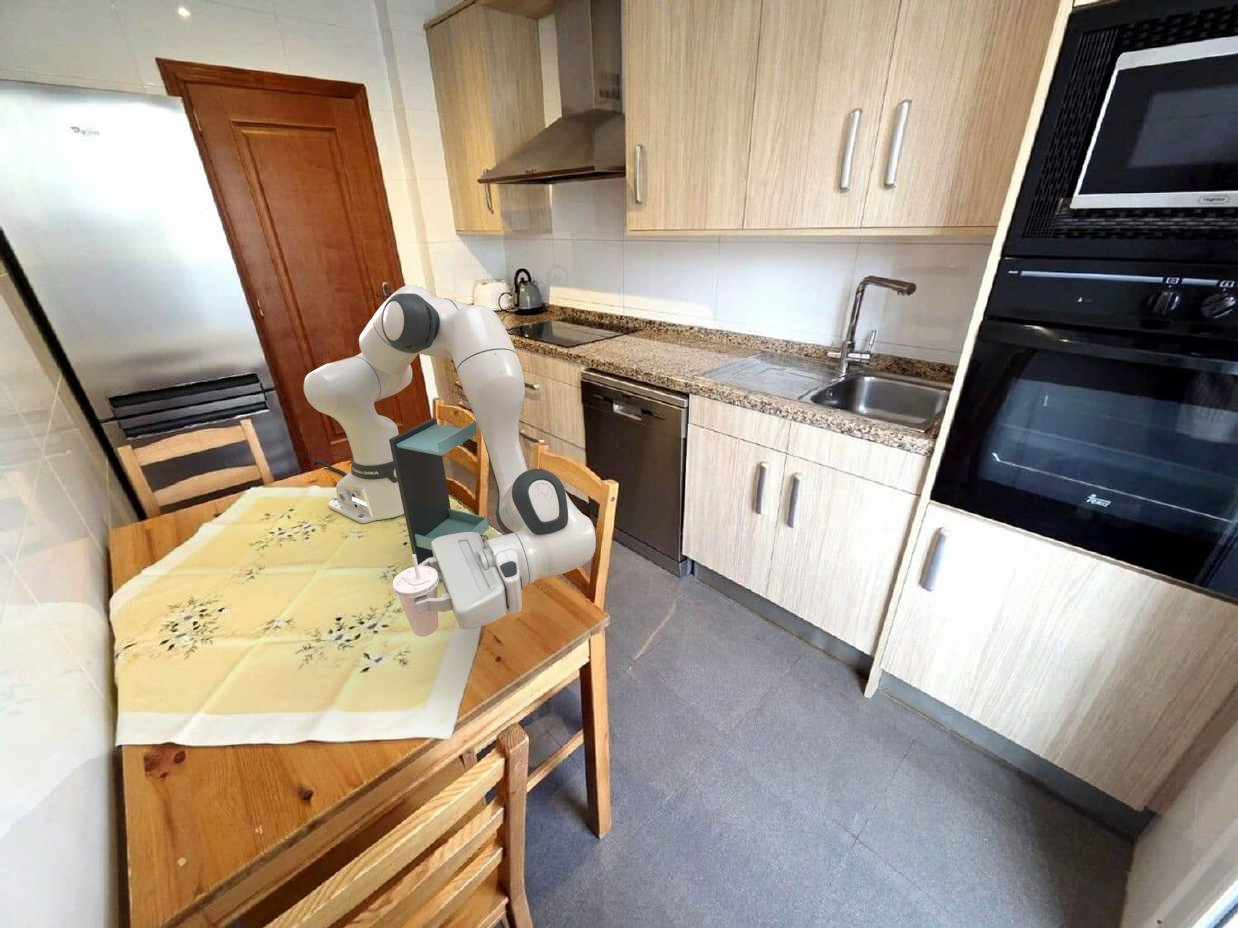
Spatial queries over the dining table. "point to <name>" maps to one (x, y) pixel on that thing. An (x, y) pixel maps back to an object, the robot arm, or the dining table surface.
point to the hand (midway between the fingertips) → (411, 591)
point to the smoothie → (412, 587)
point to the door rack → (430, 485)
